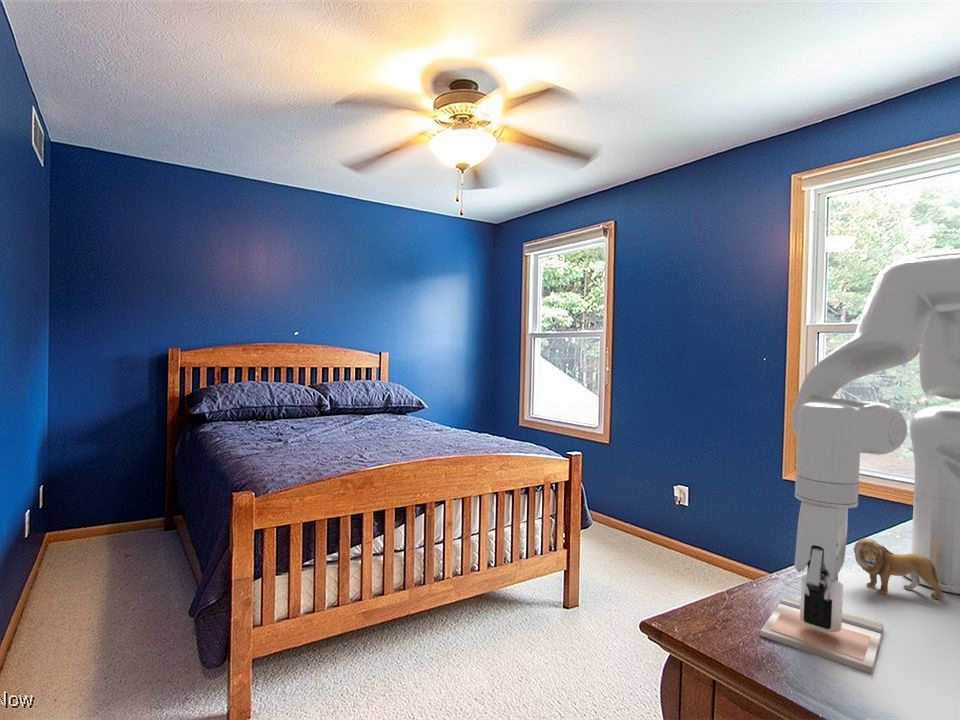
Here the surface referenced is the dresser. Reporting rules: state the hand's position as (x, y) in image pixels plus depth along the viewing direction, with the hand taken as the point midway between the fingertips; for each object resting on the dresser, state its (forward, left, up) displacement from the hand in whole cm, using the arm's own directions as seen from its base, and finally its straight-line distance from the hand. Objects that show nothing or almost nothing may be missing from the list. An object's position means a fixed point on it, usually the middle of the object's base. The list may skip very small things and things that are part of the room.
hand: (820, 616), depth 77 cm
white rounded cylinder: (0, 0, -1) cm, 1 cm away
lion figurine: (-27, +7, -3) cm, 29 cm away
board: (-2, 0, -3) cm, 4 cm away
